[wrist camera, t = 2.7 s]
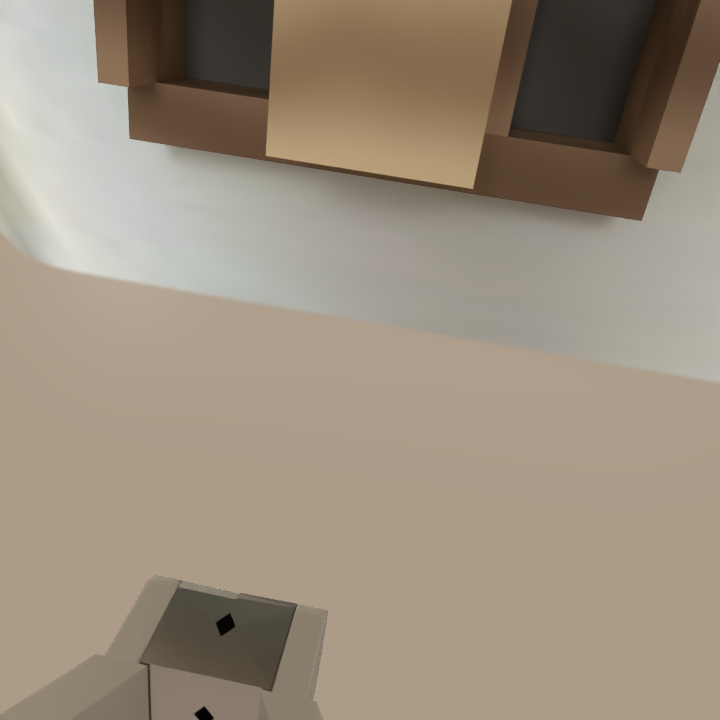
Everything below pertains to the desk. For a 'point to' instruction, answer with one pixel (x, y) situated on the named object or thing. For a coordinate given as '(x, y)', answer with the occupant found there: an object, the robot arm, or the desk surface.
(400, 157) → the maple block
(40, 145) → the desk surface
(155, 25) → the box
